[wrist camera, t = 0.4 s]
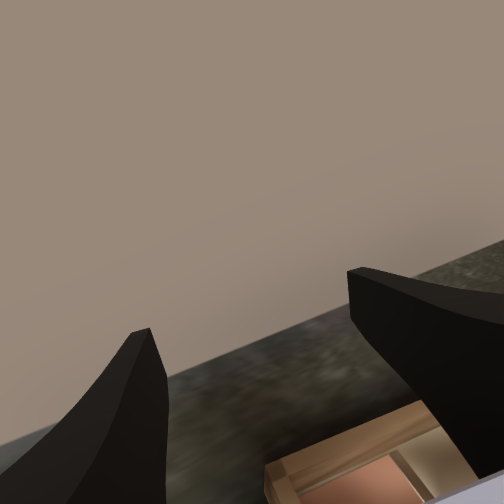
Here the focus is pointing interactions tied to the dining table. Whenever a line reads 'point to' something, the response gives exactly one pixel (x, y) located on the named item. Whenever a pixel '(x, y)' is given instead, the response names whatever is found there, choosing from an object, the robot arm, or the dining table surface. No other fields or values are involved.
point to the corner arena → (373, 464)
